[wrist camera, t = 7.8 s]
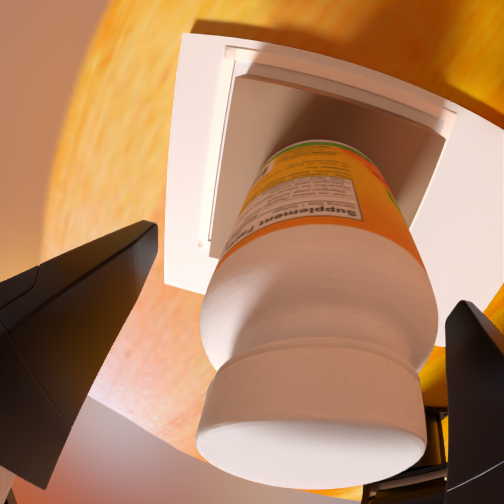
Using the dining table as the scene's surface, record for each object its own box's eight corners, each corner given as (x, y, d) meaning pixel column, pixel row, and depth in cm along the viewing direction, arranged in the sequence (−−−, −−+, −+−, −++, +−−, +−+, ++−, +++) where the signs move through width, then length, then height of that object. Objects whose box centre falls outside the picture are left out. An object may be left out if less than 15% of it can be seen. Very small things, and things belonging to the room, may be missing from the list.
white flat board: (554, 164, 11) (563, 171, 10) (451, 339, 19) (454, 349, 18) (189, 33, 11) (181, 33, 11) (168, 275, 20) (163, 284, 19)
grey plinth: (429, 126, 11) (446, 139, 10) (369, 271, 16) (374, 297, 14) (246, 73, 12) (235, 76, 10) (219, 234, 16) (208, 256, 15)
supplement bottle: (391, 250, 13) (434, 483, 5) (270, 266, 14) (220, 489, 7) (378, 125, 10) (523, 355, 2) (234, 152, 12) (88, 379, 4)
